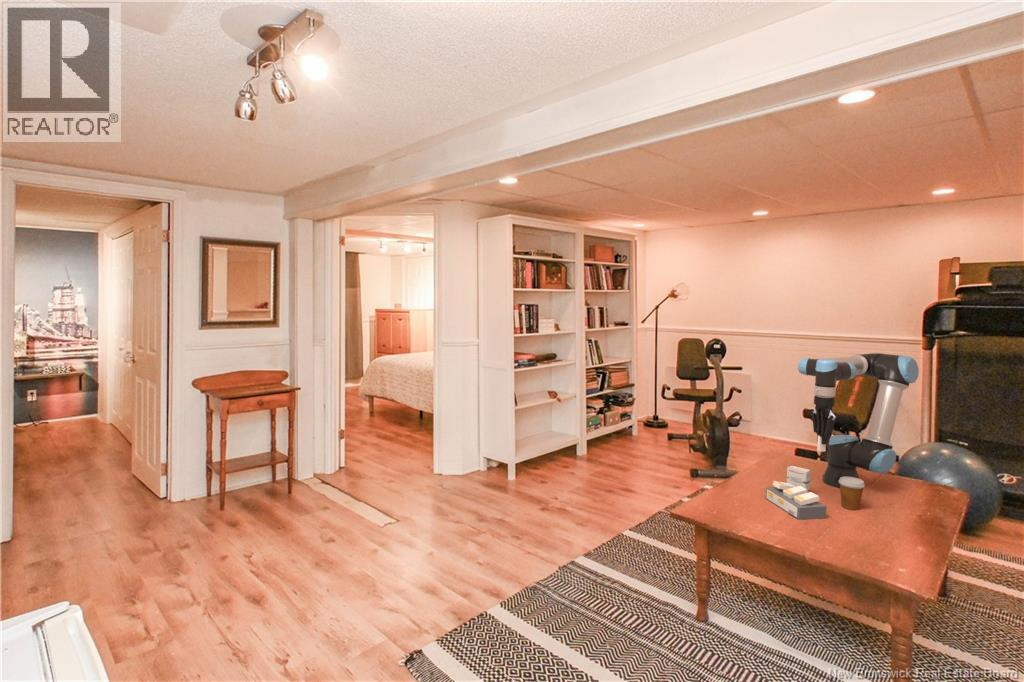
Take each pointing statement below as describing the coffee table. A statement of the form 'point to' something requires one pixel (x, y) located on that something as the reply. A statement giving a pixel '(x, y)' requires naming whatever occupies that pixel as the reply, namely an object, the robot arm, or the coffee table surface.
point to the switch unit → (795, 505)
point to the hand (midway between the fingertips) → (821, 450)
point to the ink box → (799, 477)
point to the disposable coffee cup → (851, 492)
